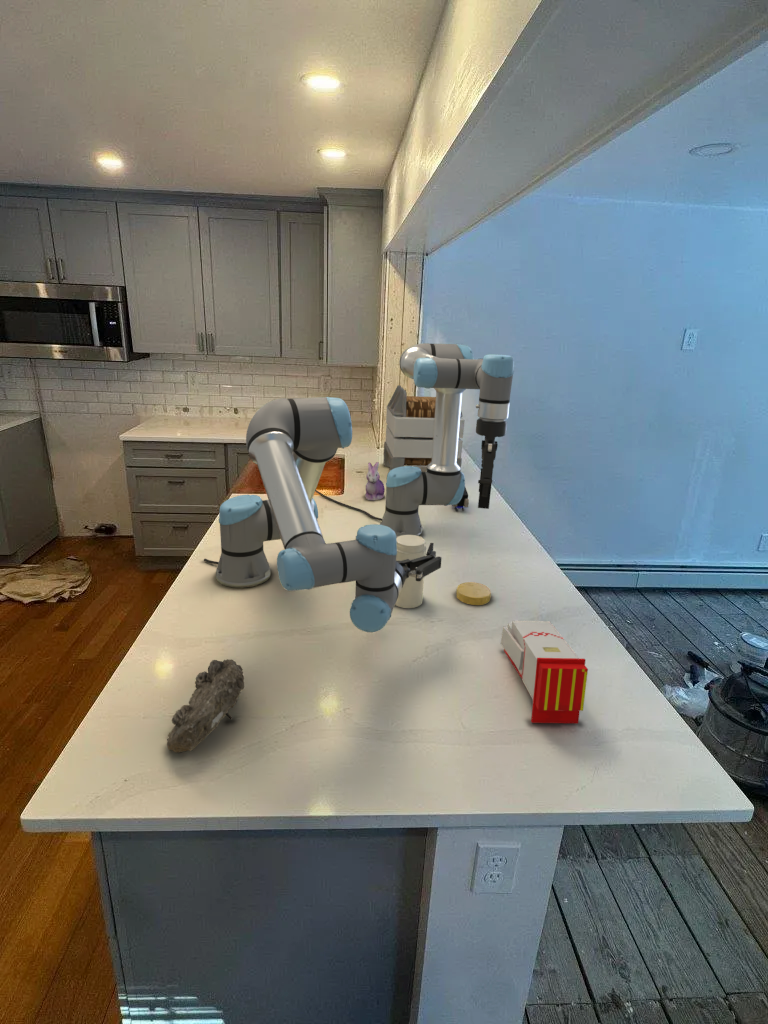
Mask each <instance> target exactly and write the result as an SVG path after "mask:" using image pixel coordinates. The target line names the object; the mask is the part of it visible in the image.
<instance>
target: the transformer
mask: <svg viewBox="0 0 768 1024" xmlns="http://www.w3.org/2000/svg"><path fill="white" fill-rule="evenodd" d="M407 394H408V393H407V390H406V389H404V388H403V387H402V385H399V384H398V385H397V386H396V388H395V390H394V392H393V394H392V395H391V398H390V400H389V402H388V404H387V405H386V413H385V414H386V415H385V423H386V428H385V438H384V442H383V466H384V467H388V468H389V471H391V470H392V469H394V468H397V467H403V466H412V467H413V466H415V467H427V465H428V464H430V463H431V461H432V447H433V433H434V418H435V404H436V396H415V395H414V396H413V395H412V396H411V395H407ZM464 429H465V419H464V418H463V411H461V414H460V426H459V439H458V451H457V465H458V466H459V467H460V472H462V461H463V460H462V453H463V442H464V441H463V440H462V439H463V438H464V431H465V430H464Z"/></svg>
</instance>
